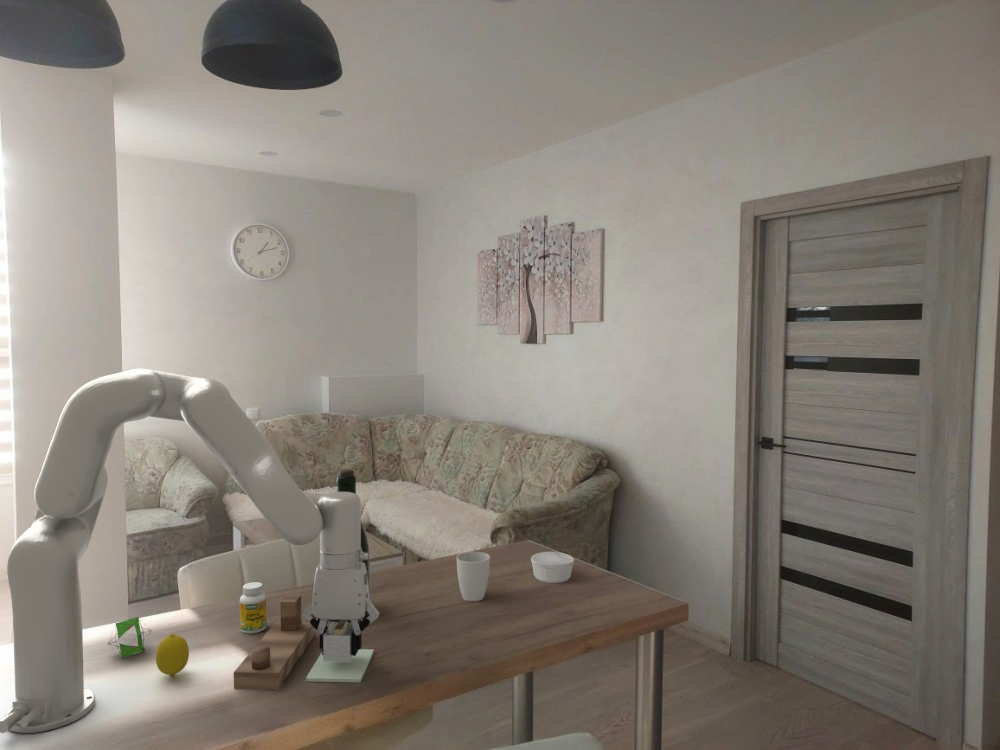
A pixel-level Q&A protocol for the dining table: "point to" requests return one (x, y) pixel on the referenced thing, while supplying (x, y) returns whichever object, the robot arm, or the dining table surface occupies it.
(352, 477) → the dark green wine bottle
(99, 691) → the dining table surface
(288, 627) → the tan board with knob
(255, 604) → the supplement bottle
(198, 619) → the dining table surface
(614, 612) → the dining table surface
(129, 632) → the geometric puzzle
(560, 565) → the ramekin
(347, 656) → the white block
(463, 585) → the cup
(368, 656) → the mat
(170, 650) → the lemon
